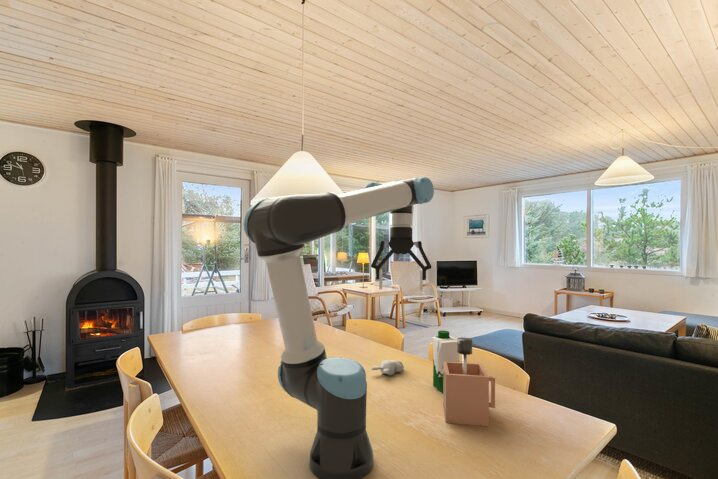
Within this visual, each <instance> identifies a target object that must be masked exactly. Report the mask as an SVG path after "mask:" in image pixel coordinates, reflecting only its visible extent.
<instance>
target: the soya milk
mask: <svg viewBox="0 0 718 479" xmlns="http://www.w3.org/2000/svg"><path fill="white" fill-rule="evenodd" d="M431 339H432V346H433V347H432V348H433V350H432V351H433V354H432V355H433V356H432V357H433V362H432V364H433V366H432V368H433V369H432V372H433V374H432V375H433V377H432V378H433V379H432V386H433V387H434V388H435V389H437V390H438V391H439V392H440V393H441V394H443V361H448V362H461V360H460V357H461V356H460V355H461V354H459V353H458V352H457V339H458V337H457V338H456V337H454V336H453V335H450V331H448V330H438V331H437V336H432V338H431Z"/></svg>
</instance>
